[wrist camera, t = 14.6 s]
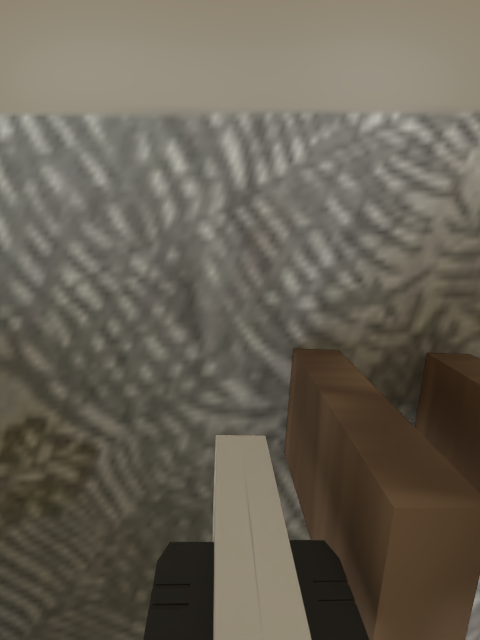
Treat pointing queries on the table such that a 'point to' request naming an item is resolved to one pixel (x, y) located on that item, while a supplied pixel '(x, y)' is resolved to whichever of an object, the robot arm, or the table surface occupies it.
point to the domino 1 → (382, 502)
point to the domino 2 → (452, 411)
